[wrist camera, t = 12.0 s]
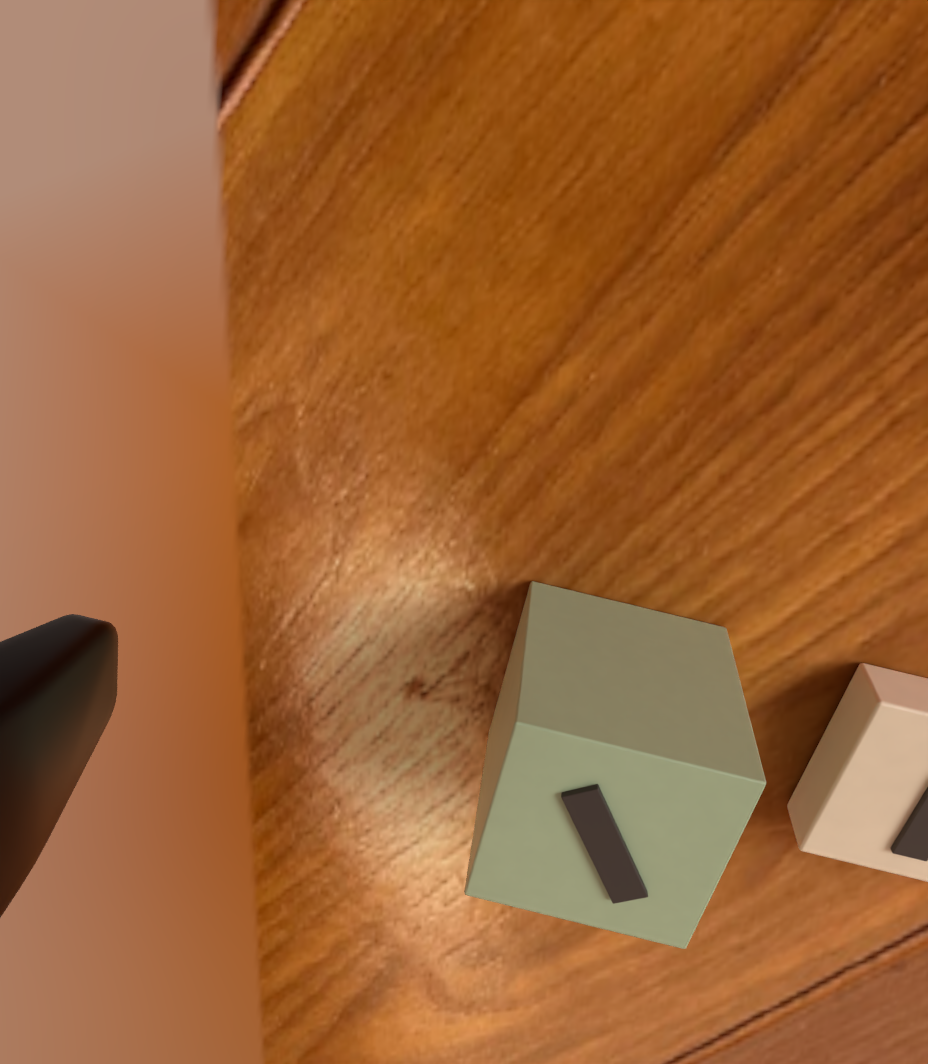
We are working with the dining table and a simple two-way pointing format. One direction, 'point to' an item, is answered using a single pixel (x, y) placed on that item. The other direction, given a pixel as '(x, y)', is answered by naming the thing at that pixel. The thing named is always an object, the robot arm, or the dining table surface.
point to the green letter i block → (614, 768)
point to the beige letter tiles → (870, 777)
